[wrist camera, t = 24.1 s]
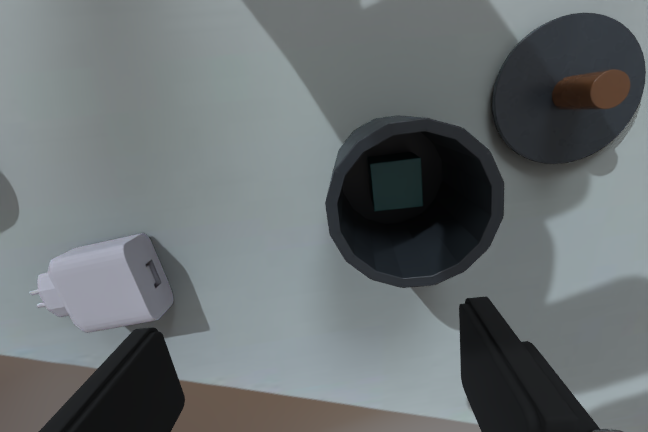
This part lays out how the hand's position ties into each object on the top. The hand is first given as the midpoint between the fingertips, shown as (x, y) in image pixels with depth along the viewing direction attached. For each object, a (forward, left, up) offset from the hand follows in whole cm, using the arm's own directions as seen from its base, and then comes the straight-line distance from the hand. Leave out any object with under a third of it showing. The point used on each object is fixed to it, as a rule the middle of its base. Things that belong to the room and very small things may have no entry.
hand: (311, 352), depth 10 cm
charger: (+20, -23, -26) cm, 40 cm away
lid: (-14, +17, -25) cm, 34 cm away
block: (-2, +5, -25) cm, 26 cm away
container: (-2, +5, -26) cm, 26 cm away
